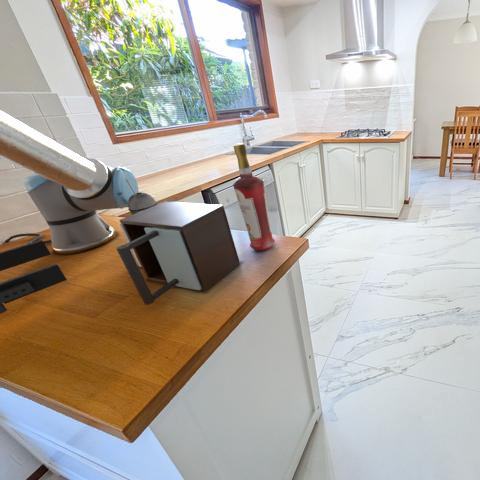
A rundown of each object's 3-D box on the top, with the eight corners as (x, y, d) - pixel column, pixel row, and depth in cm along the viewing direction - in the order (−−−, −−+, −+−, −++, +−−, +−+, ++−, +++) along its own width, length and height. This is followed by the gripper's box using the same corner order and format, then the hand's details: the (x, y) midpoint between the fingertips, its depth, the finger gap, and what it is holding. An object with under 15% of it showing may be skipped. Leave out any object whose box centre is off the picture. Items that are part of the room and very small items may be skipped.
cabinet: (147, 280, 70) (119, 220, 63) (186, 255, 80) (166, 200, 73) (205, 291, 65) (181, 226, 57) (240, 263, 75) (223, 205, 67)
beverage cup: (175, 238, 91) (151, 175, 81) (151, 248, 85) (122, 182, 76) (163, 234, 94) (138, 173, 85) (139, 243, 89) (110, 180, 80)
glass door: (136, 306, 60) (104, 246, 53) (170, 283, 67) (146, 227, 60) (169, 314, 57) (139, 251, 50) (201, 289, 64) (179, 230, 57)
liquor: (244, 249, 81) (216, 146, 68) (265, 238, 86) (243, 141, 73) (260, 256, 77) (234, 148, 64) (281, 244, 82) (261, 142, 69)
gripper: (-143, 321, 41) (52, 256, 55) (-200, 433, 27) (83, 306, 41) (-192, 278, 38) (29, 220, 52) (-290, 380, 23) (54, 261, 37)
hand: (54, 258), depth 46 cm, fingers open, 13 cm apart
